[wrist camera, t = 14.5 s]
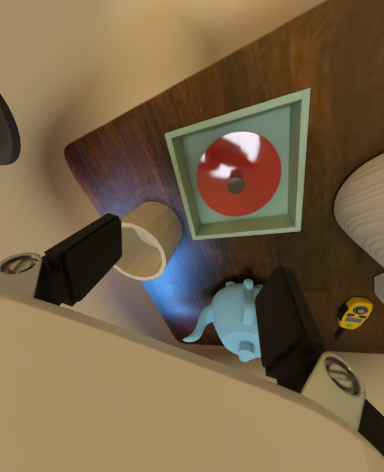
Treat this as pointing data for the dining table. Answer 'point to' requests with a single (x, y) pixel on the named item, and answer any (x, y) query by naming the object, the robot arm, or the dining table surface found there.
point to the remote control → (353, 314)
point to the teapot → (233, 319)
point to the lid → (238, 173)
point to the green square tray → (284, 141)
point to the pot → (148, 240)
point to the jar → (379, 286)
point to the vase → (364, 207)
